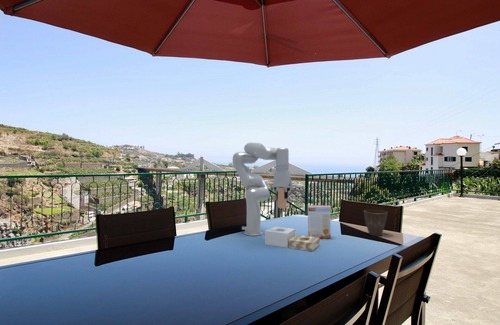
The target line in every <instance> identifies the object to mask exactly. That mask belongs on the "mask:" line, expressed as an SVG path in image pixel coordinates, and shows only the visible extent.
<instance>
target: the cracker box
mask: <svg viewBox="0 0 500 325" xmlns="http://www.w3.org/2000/svg"><path fill="white" fill-rule="evenodd" d="M307 236H310V237H318V238H320V239H324V240H325V239H327V240H328V239H329V240H330V239H331V206H330V205H314V204H313V205H312V204H309V205H307Z"/></svg>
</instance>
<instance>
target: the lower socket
mask: <svg viewBox="0 0 500 325" xmlns="http://www.w3.org/2000/svg"><path fill="white" fill-rule="evenodd" d="M320 239H321V238H318V237H310V236H308V235H300V234H295V236H294V237H293V238H291V239H290V240H289V247H288V249H292V250H293V249H295V250H301V251H307V252H314V251H315V250H316V249H317V248H318V247H319V246H320V245H321V244H320Z"/></svg>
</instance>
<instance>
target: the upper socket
mask: <svg viewBox="0 0 500 325" xmlns="http://www.w3.org/2000/svg"><path fill="white" fill-rule="evenodd" d="M294 236H296V229H295V228H289V227H279V226H273V227H271V228H268V229H266V230H264V244H265V245H267V246H272V247H273V246H274V247H281V248H285V249H286V248H288V249H289V240H290V239H291V238H293V237H294Z"/></svg>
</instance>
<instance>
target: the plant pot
mask: <svg viewBox="0 0 500 325" xmlns="http://www.w3.org/2000/svg"><path fill="white" fill-rule="evenodd" d="M363 214H364V215H363V216H364V221H365V226H366V229H367V232H368V234H369V235H370V236H375V237H380V236H382V234H383V231H384V230H385V226H386V223H387V219H388V211H385V210H379V209H378V210H377V209H364V210H363Z"/></svg>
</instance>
